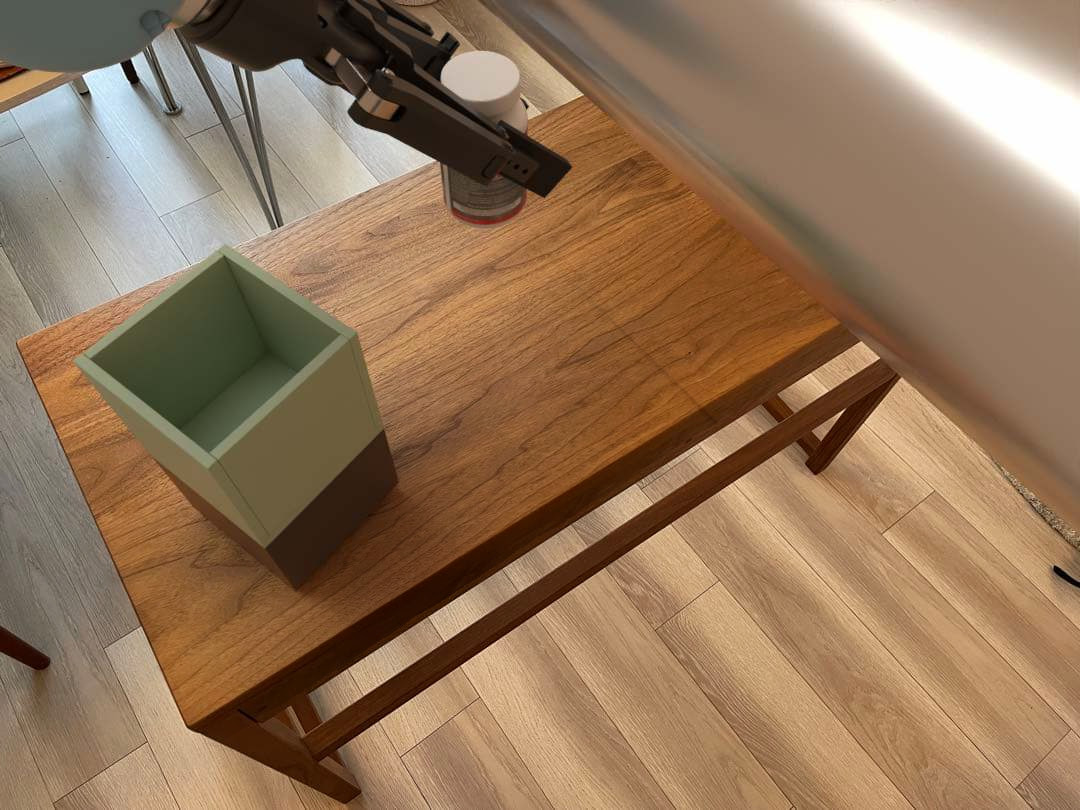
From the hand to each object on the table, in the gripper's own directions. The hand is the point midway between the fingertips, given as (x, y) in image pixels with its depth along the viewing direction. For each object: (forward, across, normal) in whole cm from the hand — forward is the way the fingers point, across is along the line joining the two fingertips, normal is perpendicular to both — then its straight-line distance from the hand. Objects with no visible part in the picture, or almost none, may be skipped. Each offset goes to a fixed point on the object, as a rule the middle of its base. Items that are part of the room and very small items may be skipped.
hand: (533, 147), depth 53 cm
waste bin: (+5, +1, -38) cm, 38 cm away
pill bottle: (0, 0, -5) cm, 5 cm away
